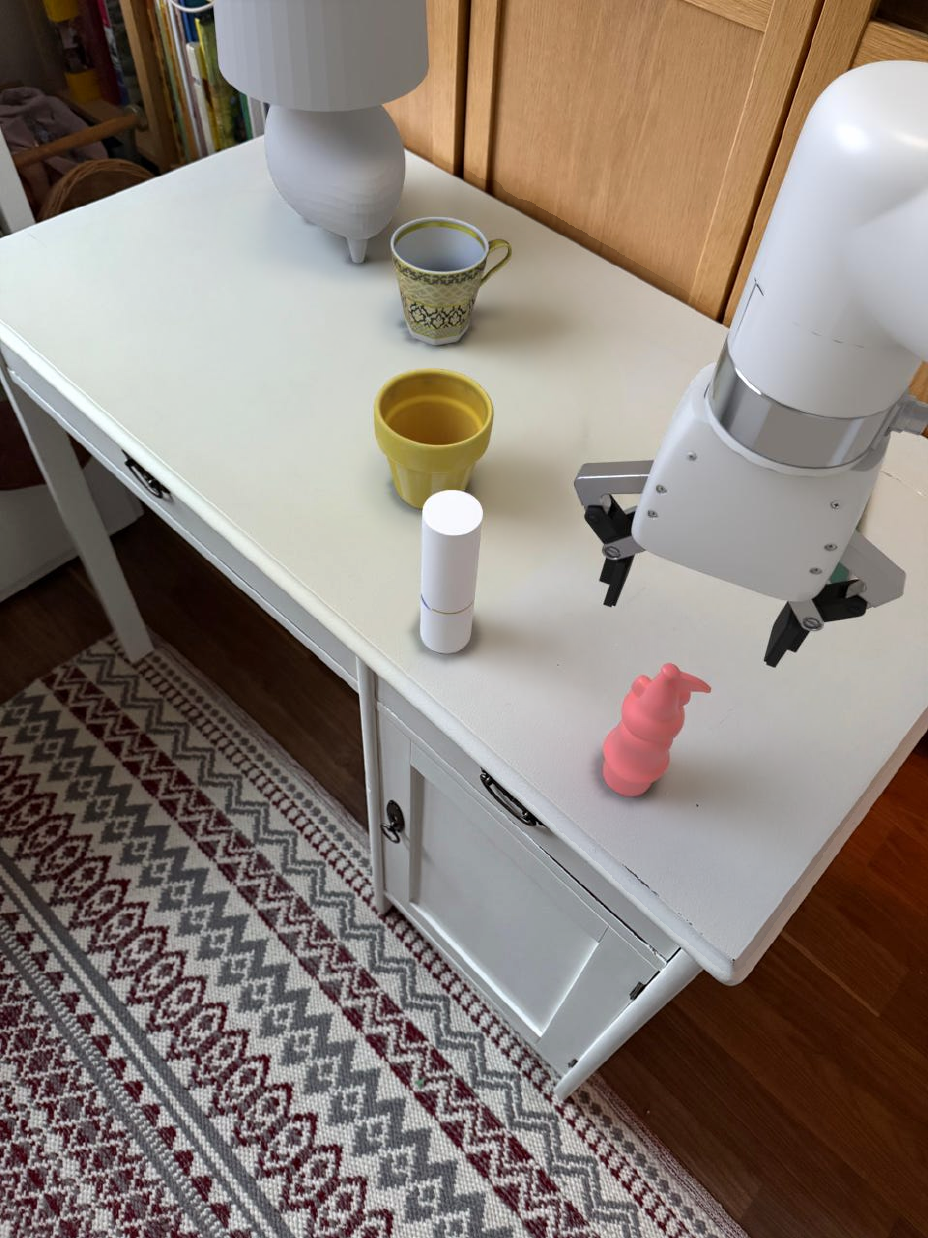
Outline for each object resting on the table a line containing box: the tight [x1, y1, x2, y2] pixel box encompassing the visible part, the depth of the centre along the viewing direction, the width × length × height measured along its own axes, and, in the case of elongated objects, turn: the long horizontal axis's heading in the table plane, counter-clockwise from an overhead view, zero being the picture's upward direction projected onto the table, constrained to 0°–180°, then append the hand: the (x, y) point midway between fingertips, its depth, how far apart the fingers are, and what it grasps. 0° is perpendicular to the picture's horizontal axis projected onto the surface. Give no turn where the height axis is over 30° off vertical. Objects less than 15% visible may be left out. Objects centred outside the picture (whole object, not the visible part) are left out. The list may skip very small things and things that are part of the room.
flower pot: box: [373, 367, 495, 510], centre depth 82 cm, size 10×10×10 cm
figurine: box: [602, 662, 712, 797], centre depth 64 cm, size 5×5×15 cm
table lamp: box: [212, 0, 430, 264], centre depth 93 cm, size 23×22×40 cm
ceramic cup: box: [389, 216, 513, 347], centre depth 96 cm, size 13×10×10 cm
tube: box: [419, 490, 484, 654], centre depth 70 cm, size 4×4×15 cm
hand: (693, 617), depth 53 cm, fingers open, 9 cm apart
